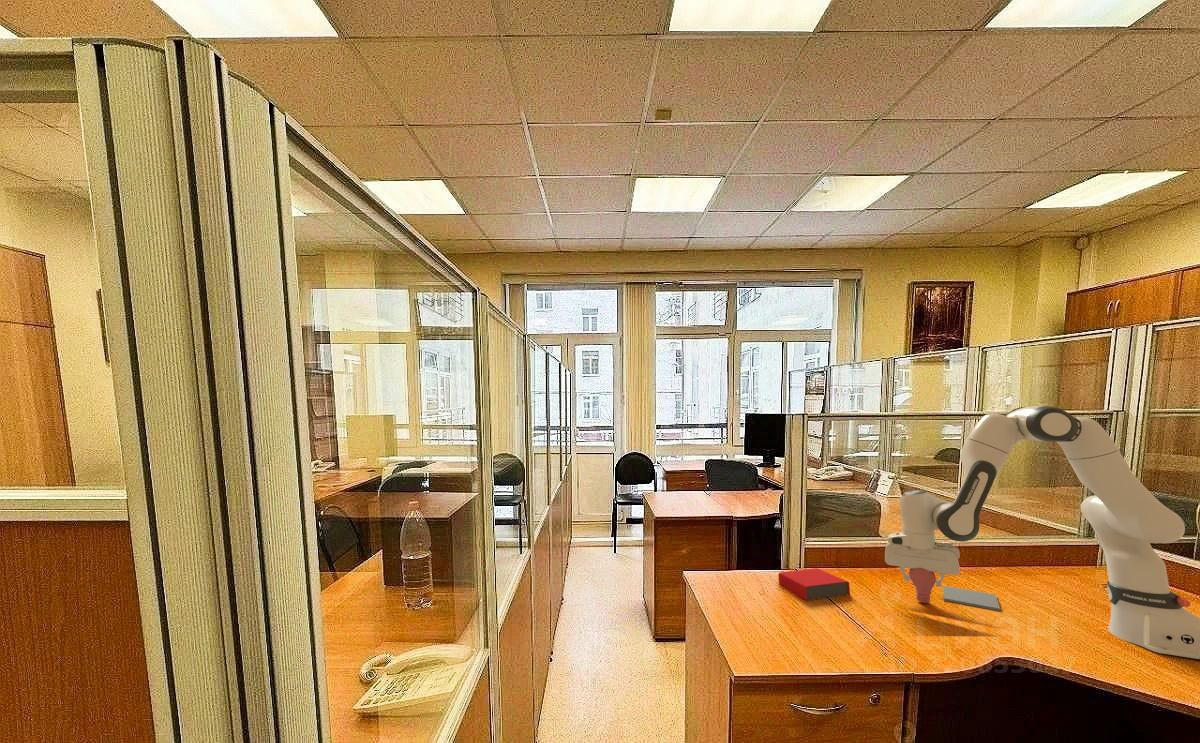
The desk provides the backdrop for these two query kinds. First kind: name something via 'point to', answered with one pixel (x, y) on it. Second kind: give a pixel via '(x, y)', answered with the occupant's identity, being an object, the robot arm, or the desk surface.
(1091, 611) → the desk surface
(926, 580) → the light bulb
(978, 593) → the mat
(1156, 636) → the robot arm
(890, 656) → the desk surface
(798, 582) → the red device housing
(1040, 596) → the desk surface
